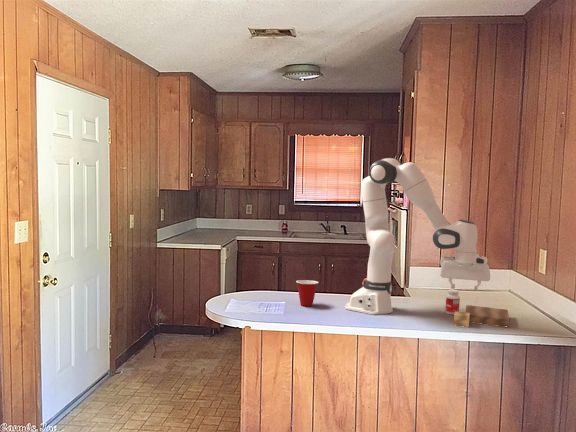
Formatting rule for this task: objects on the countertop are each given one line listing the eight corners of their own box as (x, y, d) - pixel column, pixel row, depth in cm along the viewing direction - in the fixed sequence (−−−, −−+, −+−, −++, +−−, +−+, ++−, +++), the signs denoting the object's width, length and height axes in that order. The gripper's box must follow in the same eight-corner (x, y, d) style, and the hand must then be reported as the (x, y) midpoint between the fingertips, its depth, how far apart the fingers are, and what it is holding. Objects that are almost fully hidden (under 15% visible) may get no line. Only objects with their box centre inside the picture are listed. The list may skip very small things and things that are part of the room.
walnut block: (464, 323, 216) (464, 314, 216) (465, 313, 233) (466, 304, 232) (508, 328, 209) (509, 319, 209) (507, 318, 226) (507, 309, 226)
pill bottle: (443, 311, 232) (444, 288, 231) (455, 311, 233) (456, 288, 232) (448, 315, 226) (449, 291, 225) (461, 315, 226) (462, 292, 226)
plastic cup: (318, 302, 241) (318, 279, 240) (317, 308, 231) (318, 283, 230) (296, 301, 242) (297, 277, 241) (294, 307, 232) (295, 282, 231)
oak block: (453, 325, 210) (454, 314, 210) (454, 322, 216) (455, 311, 215) (468, 327, 208) (469, 316, 207) (468, 324, 213) (469, 313, 213)
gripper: (439, 257, 210) (438, 288, 211) (490, 260, 202) (489, 293, 204) (441, 255, 216) (439, 285, 217) (490, 258, 208) (489, 290, 209)
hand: (464, 289), depth 210 cm, fingers open, 8 cm apart
